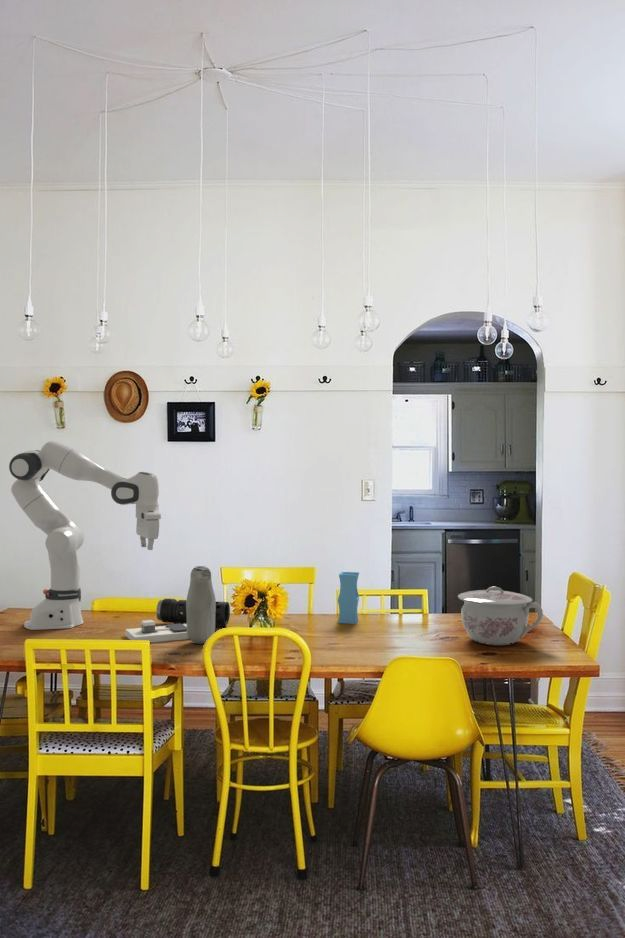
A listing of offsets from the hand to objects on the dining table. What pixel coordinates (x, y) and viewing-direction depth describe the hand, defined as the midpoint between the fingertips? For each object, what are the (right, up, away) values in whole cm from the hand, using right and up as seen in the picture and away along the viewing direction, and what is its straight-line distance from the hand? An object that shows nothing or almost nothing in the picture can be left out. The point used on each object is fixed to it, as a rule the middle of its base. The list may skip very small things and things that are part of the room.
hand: (146, 548), depth 320 cm
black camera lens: (+17, -32, +5) cm, 36 cm away
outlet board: (+9, -32, -16) cm, 36 cm away
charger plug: (+4, -31, -18) cm, 36 cm away
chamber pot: (+133, -34, -16) cm, 138 cm away
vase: (+80, -32, +16) cm, 88 cm away
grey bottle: (+25, -32, -25) cm, 47 cm away
